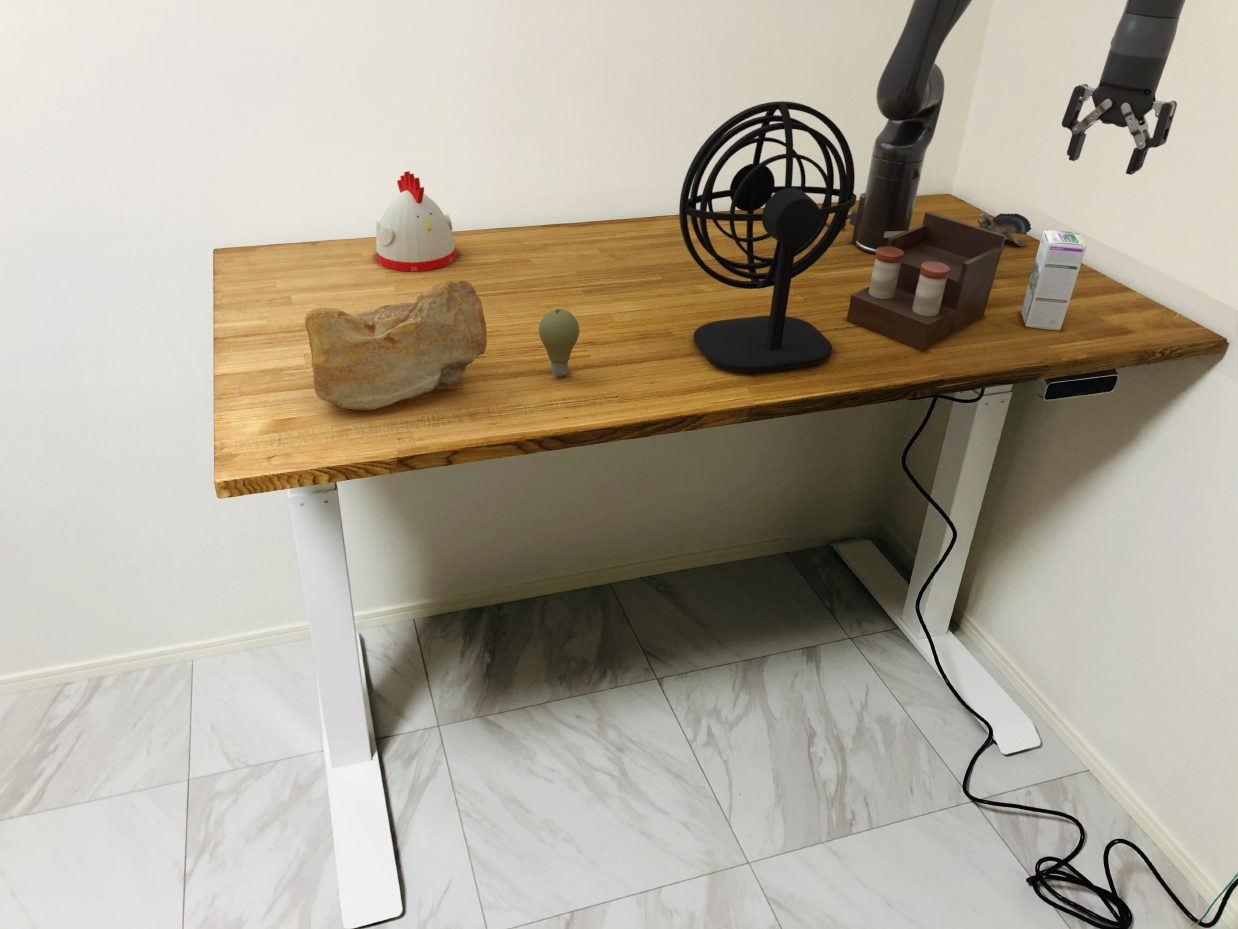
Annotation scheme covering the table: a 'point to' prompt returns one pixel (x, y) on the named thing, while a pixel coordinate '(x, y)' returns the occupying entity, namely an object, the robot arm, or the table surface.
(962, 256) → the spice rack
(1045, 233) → the syrup box
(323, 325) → the rough brown rock
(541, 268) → the table surface
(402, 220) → the kitchen timer
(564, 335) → the light bulb
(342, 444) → the table surface
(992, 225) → the squirrel figurine
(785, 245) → the desk fan
